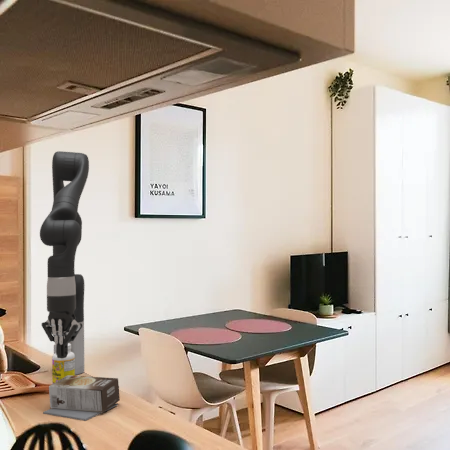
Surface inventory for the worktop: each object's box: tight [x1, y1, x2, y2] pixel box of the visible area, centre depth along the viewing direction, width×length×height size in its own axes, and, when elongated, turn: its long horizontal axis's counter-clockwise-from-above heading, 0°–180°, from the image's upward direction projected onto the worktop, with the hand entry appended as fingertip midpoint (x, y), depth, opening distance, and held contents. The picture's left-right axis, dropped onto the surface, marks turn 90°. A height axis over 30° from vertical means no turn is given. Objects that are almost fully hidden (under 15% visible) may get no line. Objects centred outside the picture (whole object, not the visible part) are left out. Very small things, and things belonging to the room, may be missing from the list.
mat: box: [42, 403, 119, 422], centre depth 140 cm, size 14×13×1 cm
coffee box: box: [48, 375, 121, 414], centre depth 141 cm, size 9×6×16 cm
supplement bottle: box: [51, 343, 76, 385], centre depth 162 cm, size 7×7×13 cm
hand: (62, 357), depth 143 cm, fingers closed
